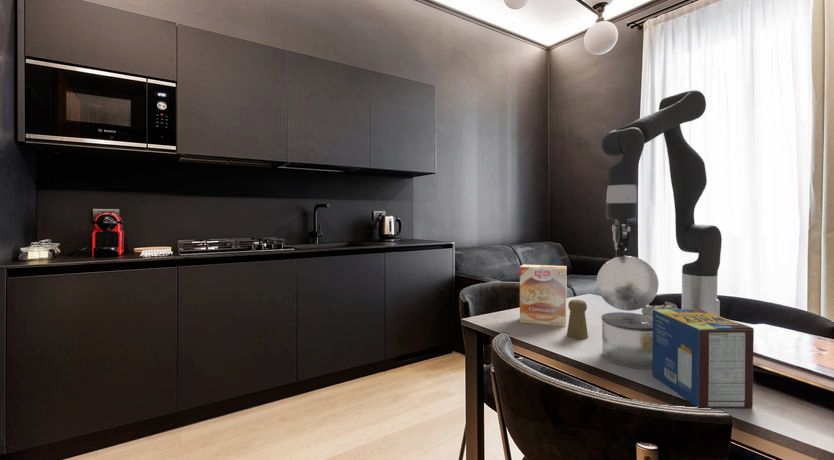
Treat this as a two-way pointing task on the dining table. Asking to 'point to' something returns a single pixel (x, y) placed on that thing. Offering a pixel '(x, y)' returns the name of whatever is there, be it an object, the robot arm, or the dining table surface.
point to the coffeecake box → (543, 294)
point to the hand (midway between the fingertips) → (620, 263)
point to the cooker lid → (627, 283)
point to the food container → (649, 310)
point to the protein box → (703, 357)
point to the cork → (577, 320)
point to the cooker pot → (627, 339)
